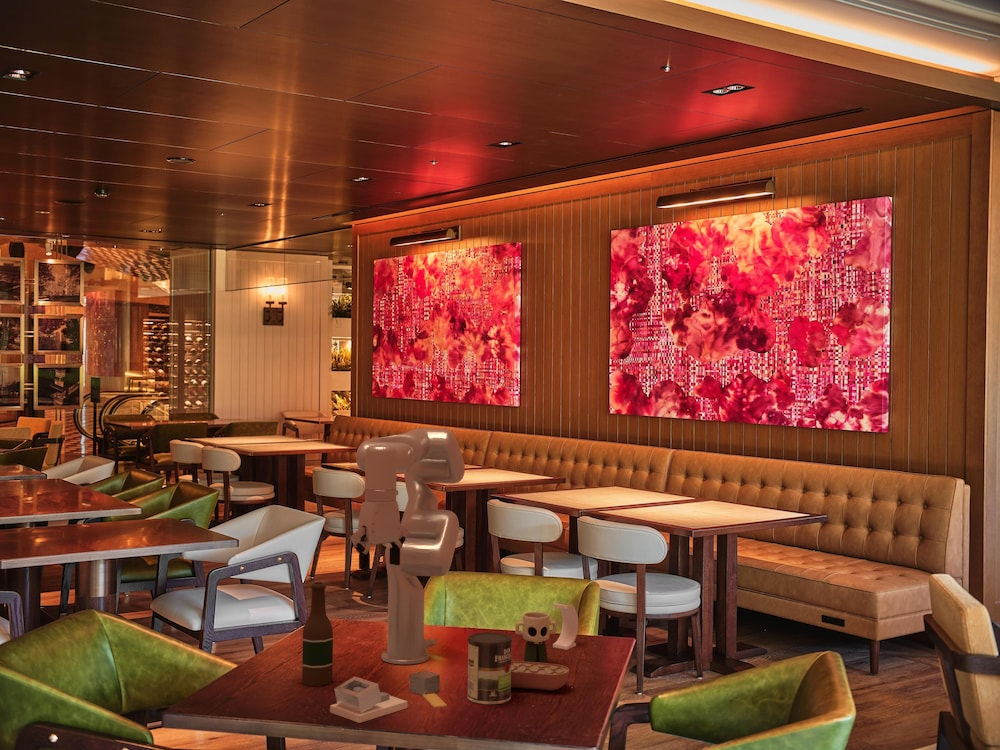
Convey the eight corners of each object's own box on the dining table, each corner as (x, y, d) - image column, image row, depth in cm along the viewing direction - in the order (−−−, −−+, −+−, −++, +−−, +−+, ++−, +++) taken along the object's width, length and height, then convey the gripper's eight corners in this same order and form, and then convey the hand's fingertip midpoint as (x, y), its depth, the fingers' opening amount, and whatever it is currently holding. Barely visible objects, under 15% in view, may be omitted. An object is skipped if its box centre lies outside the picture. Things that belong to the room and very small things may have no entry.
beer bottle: (326, 687, 245) (327, 587, 245) (295, 685, 247) (297, 585, 247) (338, 678, 253) (339, 580, 253) (308, 676, 254) (309, 579, 254)
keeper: (377, 698, 238) (378, 674, 238) (407, 707, 231) (407, 683, 231) (329, 712, 227) (330, 687, 227) (359, 722, 221) (359, 697, 221)
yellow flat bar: (422, 696, 239) (422, 694, 239) (434, 695, 241) (434, 693, 241) (434, 708, 231) (434, 706, 231) (446, 706, 232) (446, 704, 232)
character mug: (517, 669, 263) (517, 618, 263) (512, 661, 270) (513, 612, 270) (558, 667, 264) (559, 617, 264) (553, 660, 271) (553, 611, 272)
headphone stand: (552, 647, 285) (553, 603, 285) (563, 642, 290) (564, 600, 290) (567, 649, 282) (567, 606, 282) (578, 645, 287) (578, 602, 287)
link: (357, 692, 232) (354, 676, 231) (381, 700, 226) (378, 683, 226) (337, 705, 228) (334, 688, 227) (361, 713, 222) (357, 696, 221)
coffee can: (519, 696, 240) (520, 636, 240) (494, 707, 232) (495, 645, 232) (484, 688, 246) (485, 629, 246) (458, 699, 238) (458, 638, 238)
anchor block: (424, 687, 247) (425, 670, 247) (439, 691, 243) (439, 674, 243) (409, 691, 243) (409, 674, 243) (424, 696, 240) (424, 678, 240)
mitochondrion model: (471, 691, 244) (471, 670, 244) (477, 679, 254) (477, 659, 254) (567, 696, 241) (567, 675, 241) (570, 684, 251) (570, 663, 251)
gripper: (396, 492, 257) (395, 560, 257) (342, 497, 244) (341, 569, 244) (417, 494, 252) (416, 564, 252) (363, 500, 239) (362, 574, 239)
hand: (379, 567), depth 248 cm, fingers open, 9 cm apart
